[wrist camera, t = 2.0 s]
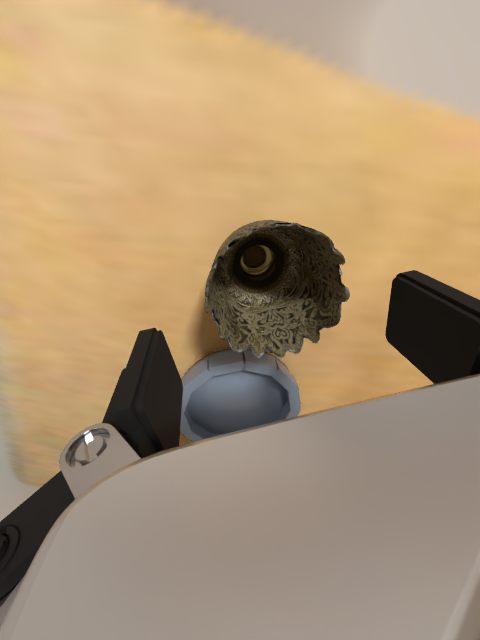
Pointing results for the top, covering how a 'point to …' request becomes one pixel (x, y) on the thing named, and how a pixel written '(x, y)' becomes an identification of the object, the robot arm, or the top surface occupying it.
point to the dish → (236, 394)
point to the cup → (275, 288)
